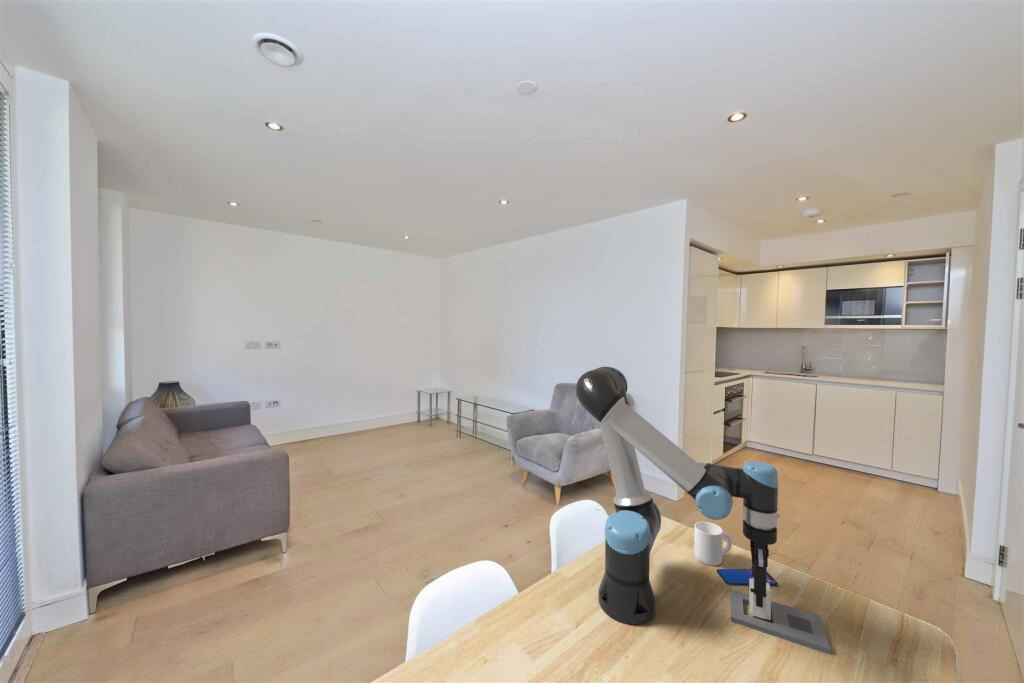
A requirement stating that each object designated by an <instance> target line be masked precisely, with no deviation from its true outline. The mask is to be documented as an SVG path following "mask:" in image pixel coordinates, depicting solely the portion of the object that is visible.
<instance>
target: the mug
mask: <svg viewBox="0 0 1024 683" xmlns="http://www.w3.org/2000/svg"><path fill="white" fill-rule="evenodd" d="M693 532H694V541H693V545H694V546H693V553H694V558H696V560H698V562H700V563H702V564H705V565H707V566H712V567H713V566H718V565H720V564H721V563H723V555H725V554H727V553H729V552H730V550H732V547H733V541H732V540H733V539H732V536H731V535H730V534H729V533H728V532H726V531H724V530H723V528H722V527H721V526H719V525H717V524H716V523H713V522H709V521H698V522H696V523H694V531H693ZM724 538H726V540H727V543H726V545H725V546H726V547H724ZM721 565H722V564H721Z"/></svg>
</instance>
